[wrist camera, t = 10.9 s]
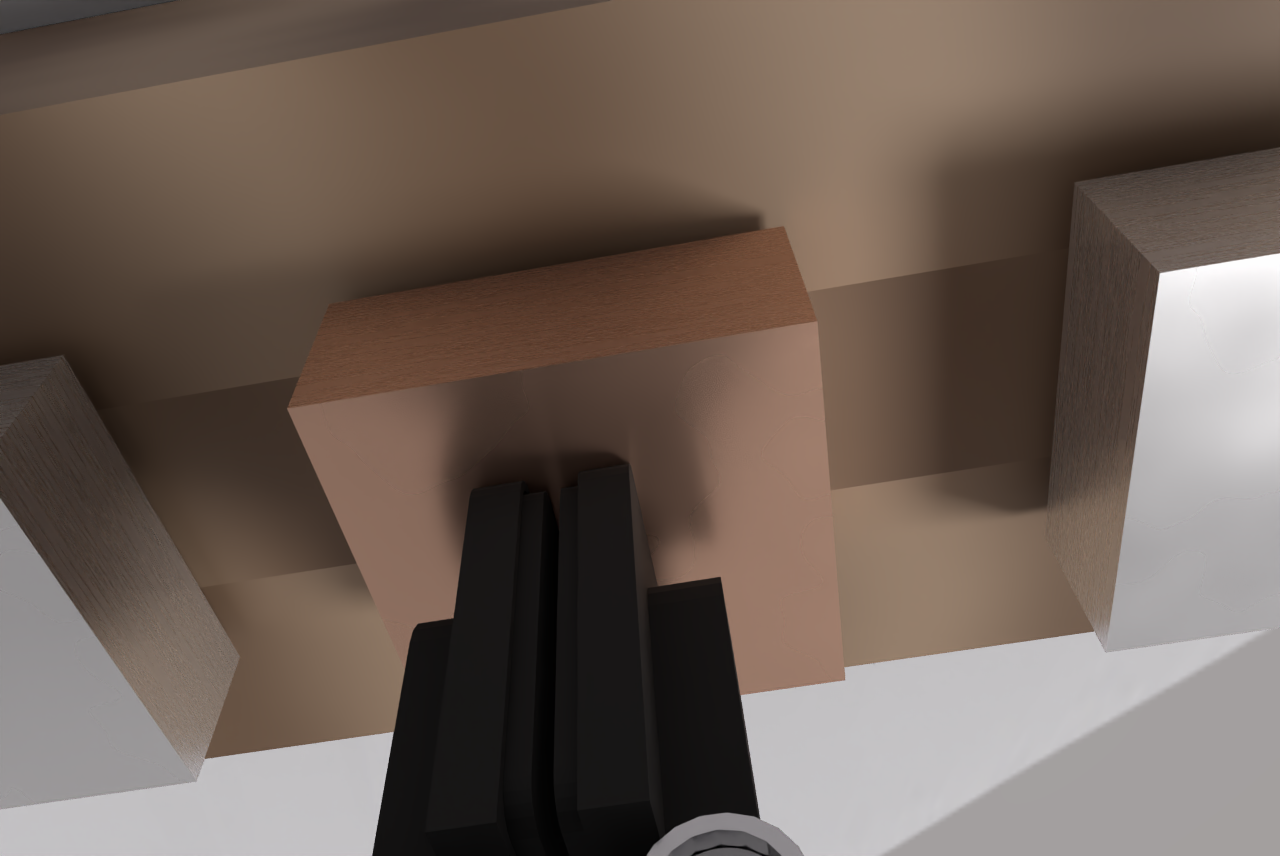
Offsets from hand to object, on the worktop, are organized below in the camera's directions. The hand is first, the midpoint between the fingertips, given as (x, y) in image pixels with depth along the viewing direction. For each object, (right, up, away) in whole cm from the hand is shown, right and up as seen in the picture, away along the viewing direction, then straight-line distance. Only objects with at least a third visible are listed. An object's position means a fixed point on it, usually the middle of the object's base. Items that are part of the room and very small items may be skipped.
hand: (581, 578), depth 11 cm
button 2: (+8, +5, +4) cm, 10 cm away
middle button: (0, +4, +5) cm, 6 cm away
